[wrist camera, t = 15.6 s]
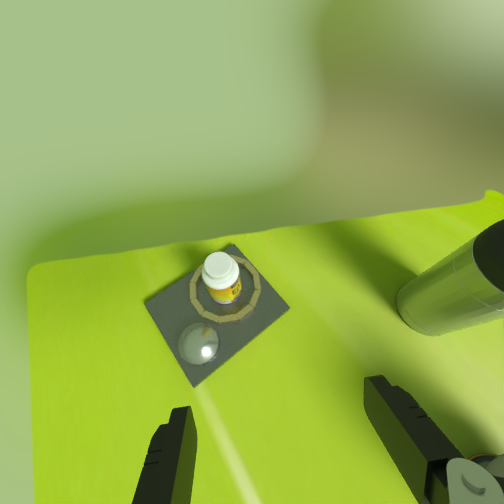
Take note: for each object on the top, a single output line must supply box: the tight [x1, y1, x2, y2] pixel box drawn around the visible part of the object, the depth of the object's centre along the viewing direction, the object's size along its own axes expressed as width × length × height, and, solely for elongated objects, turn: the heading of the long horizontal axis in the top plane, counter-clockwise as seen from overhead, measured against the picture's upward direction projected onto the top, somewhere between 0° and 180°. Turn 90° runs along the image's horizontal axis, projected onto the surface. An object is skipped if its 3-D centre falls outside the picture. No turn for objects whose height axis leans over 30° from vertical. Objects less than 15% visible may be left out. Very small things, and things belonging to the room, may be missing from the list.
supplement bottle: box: [202, 252, 241, 304], centre depth 39 cm, size 6×6×10 cm
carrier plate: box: [144, 244, 290, 388], centre depth 42 cm, size 19×16×2 cm
